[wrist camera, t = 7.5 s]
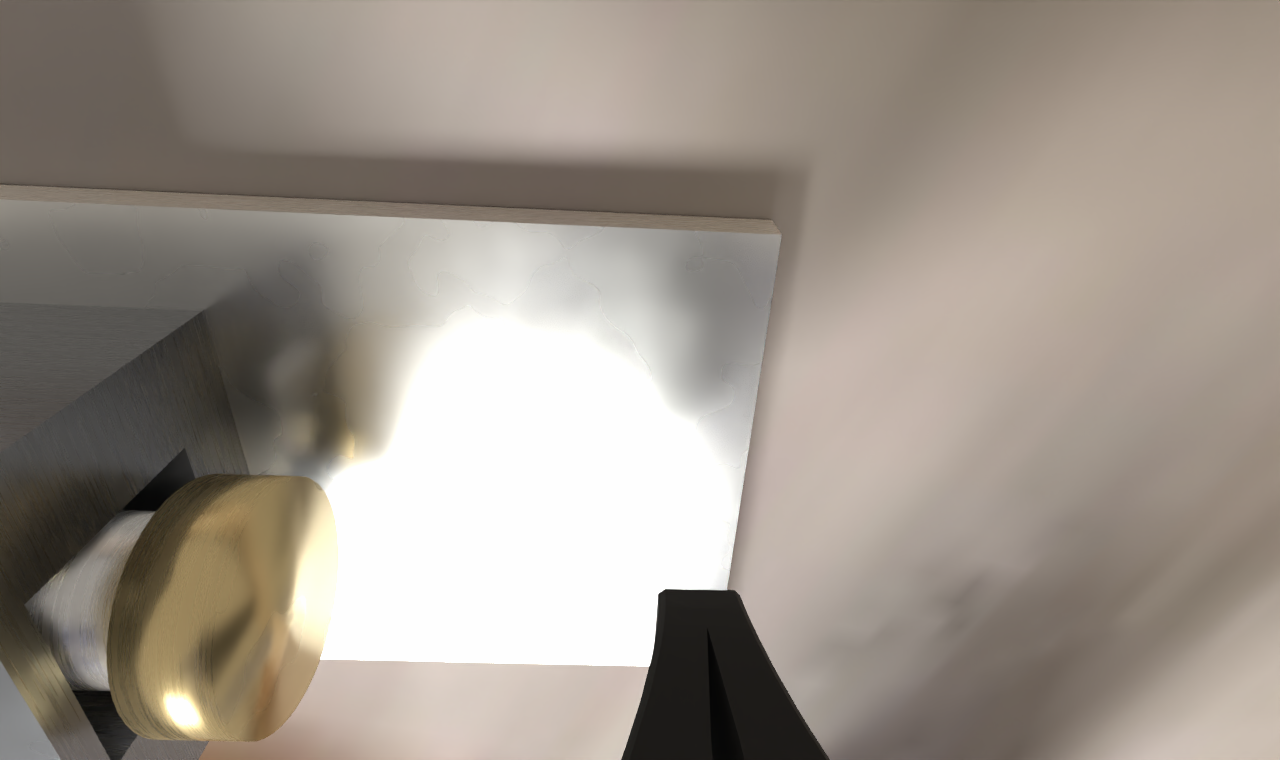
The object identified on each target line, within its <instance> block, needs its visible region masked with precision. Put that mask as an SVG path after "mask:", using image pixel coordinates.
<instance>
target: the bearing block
mask: <svg viewBox="0 0 1280 760" xmlns="http://www.w3.org/2000/svg"><path fill="white" fill-rule="evenodd" d="M781 237H782V234H781V233H780V231H779V230H778V228H777V227H776V225H775V224H774V222H773V221H772V220H764V219H742V218H720V217H698V216H676V215H655V214H633V213H611V212H589V211H567V210H545V209H524V208H502V207H480V206H458V205H436V204H415V203H393V202H371V201H349V200H327V199H306V198H284V197H262V196H240V195H218V194H196V193H175V192H153V191H131V190H109V189H87V188H66V187H44V186H22V185H0V760H198V759H199V758H200V756H201V754H202V752H203V751H204V749H205V747H206V745H207V744H208V742H209V741H190V740H151V739H147V738H143V737H141V736H139V735H137V734H136V733H134V732H133V731H132V730H131V729H130V728H128V727H127V726H126V725H125V723H124V722H123V720H122V719H121V717H120V716H119V714H118V712H117V710H116V707H115V705H114V702H113V700H112V696H111V692H110V691H84V690H71V688H70V686H69V684H68V682H67V681H66V679H65V677H64V675H63V673H62V672H61V670H60V668H59V666H58V664H57V663H56V661H55V659H54V657H53V655H52V654H51V652H50V650H49V648H48V646H47V644H46V643H45V641H44V639H43V637H42V635H41V634H40V632H39V630H38V628H37V626H36V625H35V623H34V621H33V619H32V617H31V616H30V614H29V612H28V610H27V608H26V607H25V604H26V603H27V602H28V601H29V600H30V599H31V598H32V597H33V596H34V595H35V594H36V593H37V592H38V591H39V590H40V589H41V588H42V587H43V586H44V585H45V584H46V583H47V582H48V581H49V580H50V579H51V578H52V577H53V576H54V575H55V574H56V573H57V572H58V571H59V570H60V569H61V568H62V567H63V566H64V565H65V564H66V563H67V562H69V561H70V560H71V559H72V558H73V557H74V556H75V555H76V554H77V553H78V552H79V551H80V550H81V549H82V548H83V547H84V546H85V545H86V544H87V543H88V542H89V541H90V540H91V539H92V538H93V537H94V536H95V535H96V534H97V533H98V532H99V531H100V530H101V529H102V528H103V527H104V526H105V525H106V524H107V523H108V522H109V521H110V520H111V519H112V518H113V517H114V516H115V515H116V514H117V513H118V512H120V511H121V510H138V511H157V510H158V509H159V507H160V506H161V505H162V504H163V503H164V501H165V500H167V499H168V498H169V497H170V496H171V495H172V494H173V493H174V492H175V491H176V490H178V489H179V488H180V487H182V486H183V485H185V484H186V483H188V482H190V481H191V480H193V479H195V478H197V477H201V476H204V475H207V474H247V475H279V476H303V477H308V478H310V479H312V480H314V481H315V482H317V483H318V484H319V485H320V486H321V487H322V489H323V490H324V491H325V493H326V495H327V497H328V499H329V501H330V503H331V506H332V509H333V512H334V516H335V520H336V526H337V533H338V543H339V571H338V584H337V593H336V600H335V606H334V611H333V616H332V621H331V625H330V629H329V633H328V637H327V640H326V644H325V647H324V650H323V653H322V656H321V659H348V660H392V661H437V662H482V663H527V664H571V665H616V666H650V662H651V658H652V653H653V647H654V639H655V626H656V613H657V600H658V593H660V592H661V591H663V590H664V589H695V590H727V586H728V579H729V573H730V567H731V560H732V554H733V547H734V541H735V534H736V528H737V521H738V515H739V508H740V502H741V496H742V489H743V483H744V476H745V470H746V463H747V457H748V450H749V444H750V437H751V431H752V424H753V418H754V412H755V405H756V399H757V392H758V386H759V379H760V373H761V366H762V360H763V353H764V347H765V341H766V334H767V328H768V321H769V315H770V308H771V302H772V295H773V289H774V282H775V276H776V269H777V263H778V257H779V250H780V244H781Z"/></svg>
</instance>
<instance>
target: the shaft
mask: <svg viewBox="0 0 1280 760" xmlns="http://www.w3.org/2000/svg"><path fill="white" fill-rule="evenodd" d="M338 571H339V543H338V533H337V526H336V520H335V516H334V512H333V509H332V506H331V503H330V501H329V499H328V497H327V495H326V493H325V491H324V490H323V489H322V487H321V486H320V485H319V484H318V483H317V482H315V481H314V480H312V479H310V478H308V477H303V476H279V475H247V474H207V475H204V476H201V477H197V478H195V479H193V480H191V481H190V482H188V483H186V484H185V485H183V486H182V487H180V488H179V489H178V490H176V491H175V492H174V493H173V494H172V495H171V496H170V497H169V498H168V499H167V500H165V501H164V503H163V504H162V505H161V506H160V507H159V509H158V510H157V511H138V510H121V511H120V512H118V513H117V514H116V515H115V516H114V517H113V518H112V519H111V520H110V521H109V522H108V523H107V524H106V525H105V526H104V527H103V528H102V529H101V530H100V531H99V532H98V533H97V534H96V535H95V536H94V537H93V538H92V539H91V540H90V541H89V542H88V543H87V544H86V545H85V546H84V547H83V548H82V549H81V550H80V551H79V552H78V553H77V554H76V555H75V556H74V557H73V558H72V559H71V560H70V561H69V562H67V563H66V564H65V565H64V566H63V567H62V568H61V569H60V570H59V571H58V572H57V573H56V574H55V575H54V576H53V577H52V578H51V579H50V580H49V581H48V582H47V583H46V584H45V585H44V586H43V587H42V588H41V589H40V590H39V591H38V592H37V593H36V594H35V595H34V596H33V597H32V598H31V599H30V600H29V601H28V602H27V603H26V604H25V607H26V608H27V610H28V612H29V614H30V616H31V617H32V619H33V621H34V623H35V625H36V626H37V628H38V630H39V632H40V634H41V635H42V637H43V639H44V641H45V643H46V644H47V646H48V648H49V650H50V652H51V654H52V655H53V657H54V659H55V661H56V663H57V664H58V666H59V668H60V670H61V672H62V673H63V675H64V677H65V679H66V681H67V682H68V684H69V686H70V688H71V690H84V691H110V692H111V696H112V700H113V702H114V705H115V707H116V710H117V712H118V714H119V716H120V717H121V719H122V720H123V722H124V723H125V725H126V726H127V727H128V728H130V729H131V730H132V731H133V732H134V733H136V734H137V735H139V736H141V737H143V738H147V739H151V740H190V741H245V742H250V741H259V740H261V739H264V738H266V737H268V736H270V735H271V734H273V733H274V732H275V731H276V730H278V729H279V728H280V727H281V726H282V725H283V724H284V723H285V722H286V720H287V719H288V718H289V717H290V716H291V714H292V713H293V712H294V710H295V709H296V707H297V706H298V704H299V703H300V701H301V699H302V698H303V696H304V694H305V692H306V690H307V689H308V687H309V685H310V683H311V680H312V678H313V676H314V674H315V671H316V669H317V667H318V664H319V661H320V659H321V656H322V653H323V650H324V647H325V644H326V640H327V637H328V633H329V629H330V625H331V621H332V616H333V611H334V606H335V600H336V593H337V584H338Z"/></svg>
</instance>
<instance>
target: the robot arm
mask: <svg viewBox="0 0 1280 760" xmlns="http://www.w3.org/2000/svg"><path fill="white" fill-rule="evenodd" d="M621 760H830V759H829V758H828V756H827V755H826V753H825V752H824V750H823V749H822V747H821V745H820V744H819V742H818V741H817V739H816V738H815V736H814V735H813V733H812V732H811V730H810V728H809V727H808V725H807V724H806V722H805V720H804V719H803V717H802V715H801V714H800V712H799V710H798V709H797V707H796V705H795V704H794V702H793V700H792V698H791V697H790V695H789V693H788V691H787V690H786V688H785V686H784V684H783V683H782V681H781V679H780V678H779V676H778V674H777V672H776V670H775V668H774V667H773V665H772V663H771V661H770V659H769V657H768V655H767V653H766V651H765V649H764V647H763V645H762V644H761V642H760V640H759V638H758V635H757V633H756V631H755V629H754V627H753V625H752V623H751V621H750V619H749V616H748V614H747V612H746V609H745V607H744V605H743V602H742V600H741V597H740V595H739V594H738V593H737V592H736V591H735V590H695V589H664V590H663V591H661V592H660V593H658V600H657V613H656V626H655V639H654V647H653V653H652V658H651V662H650V666H649V670H648V674H647V678H646V682H645V686H644V690H643V694H642V698H641V701H640V705H639V708H638V711H637V714H636V717H635V720H634V723H633V726H632V729H631V733H630V736H629V739H628V742H627V745H626V748H625V751H624V754H623V756H622V759H621Z"/></svg>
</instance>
